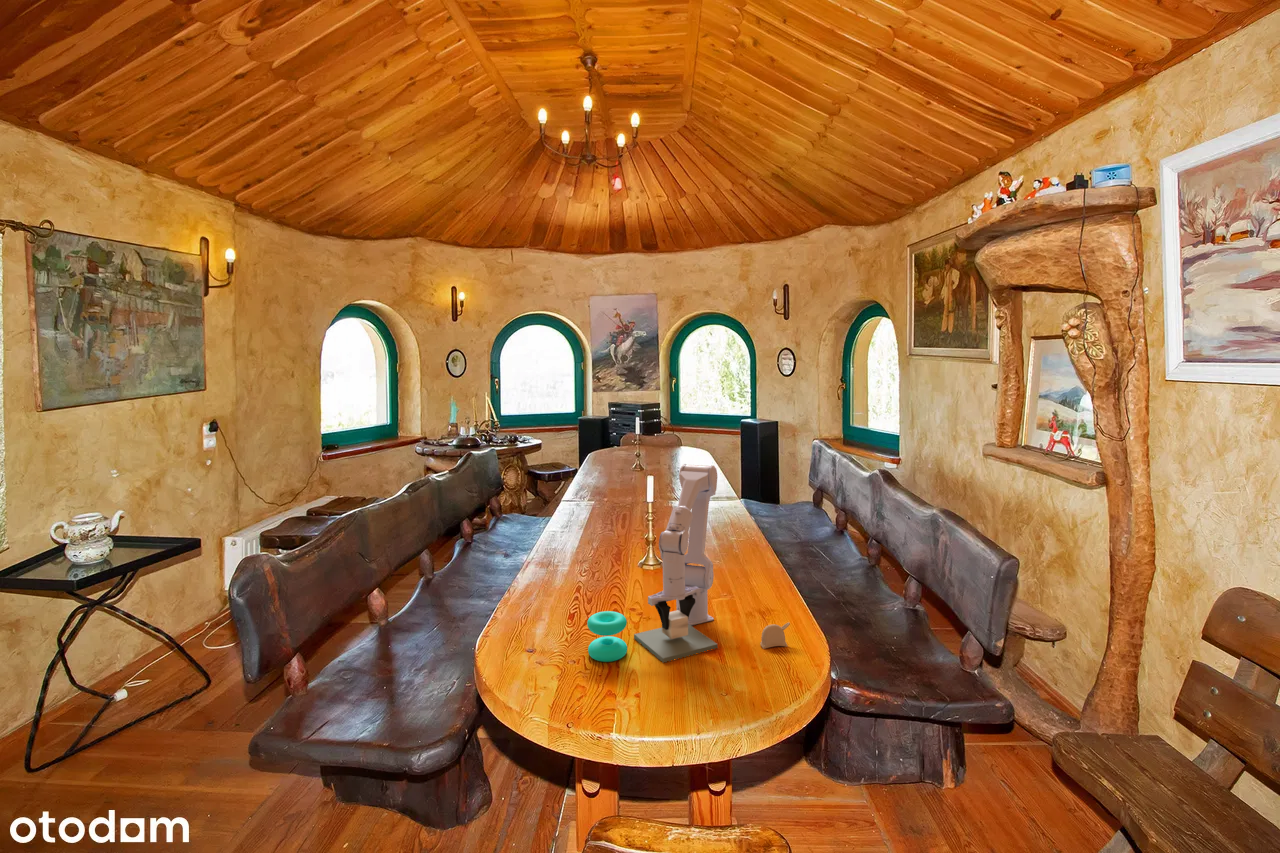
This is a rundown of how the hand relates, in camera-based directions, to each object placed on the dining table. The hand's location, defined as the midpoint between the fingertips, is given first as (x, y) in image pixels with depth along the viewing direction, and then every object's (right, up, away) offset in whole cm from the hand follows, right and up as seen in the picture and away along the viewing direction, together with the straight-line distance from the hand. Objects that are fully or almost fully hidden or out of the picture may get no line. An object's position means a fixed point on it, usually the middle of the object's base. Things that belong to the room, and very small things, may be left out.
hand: (674, 626), depth 176 cm
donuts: (-17, -6, -5) cm, 19 cm away
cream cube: (0, -2, 0) cm, 2 cm away
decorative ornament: (+26, -5, -1) cm, 27 cm away
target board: (0, -5, +1) cm, 5 cm away
